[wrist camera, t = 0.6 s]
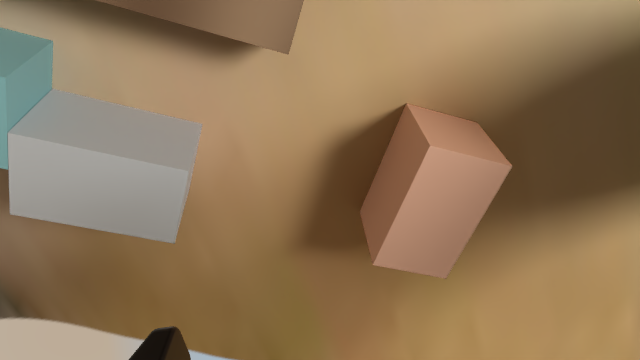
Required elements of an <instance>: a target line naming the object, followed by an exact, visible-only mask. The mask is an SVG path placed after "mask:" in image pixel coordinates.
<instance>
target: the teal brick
mask: <svg viewBox="0 0 640 360" xmlns="http://www.w3.org/2000/svg"><path fill="white" fill-rule="evenodd" d="M52 60H53V41H51V40H47V39H43V38H39V37H35V36H31V35H27V34H23V33H19V32H16V31H12V30H8V29H4V28H0V168H2V169H7V170H8V169H9V166H8V132H9V131H10V130H11V129H12V128H13V127H14V126H15V125H16V124H17V123H18V122H19V121H20V120H21V119H22V118H23V117H24V116H25V115H26V114H27V113H28V112H29V111H30V110H31V109H32V108H33V107H34V106H35V105H36V104H37V103H38V102H39V101H40V100H41V99H42V98H43V97H44V96H46V95H47V94H48V93H49V92H50V91H51V90H52Z"/></svg>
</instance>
